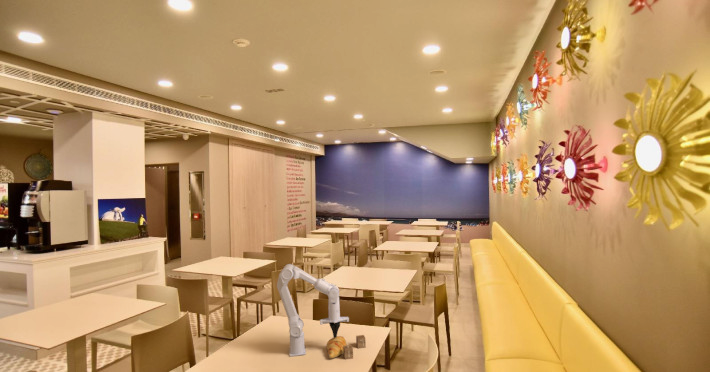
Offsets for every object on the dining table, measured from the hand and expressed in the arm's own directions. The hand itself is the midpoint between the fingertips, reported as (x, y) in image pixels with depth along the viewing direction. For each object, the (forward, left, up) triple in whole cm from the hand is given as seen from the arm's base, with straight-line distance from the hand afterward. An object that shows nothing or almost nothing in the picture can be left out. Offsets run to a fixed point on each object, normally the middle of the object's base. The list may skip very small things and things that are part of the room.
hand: (335, 336), depth 186 cm
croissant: (0, 0, -7) cm, 7 cm away
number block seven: (-1, +14, -7) cm, 15 cm away
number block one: (+9, +5, -7) cm, 12 cm away
